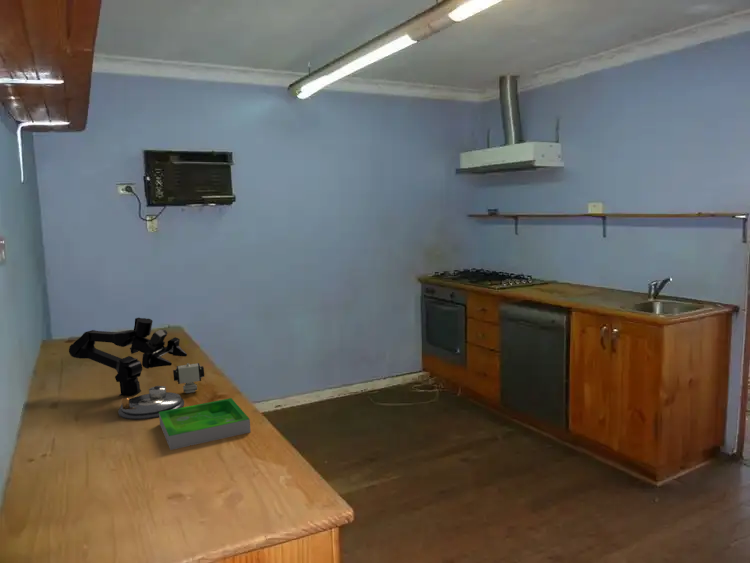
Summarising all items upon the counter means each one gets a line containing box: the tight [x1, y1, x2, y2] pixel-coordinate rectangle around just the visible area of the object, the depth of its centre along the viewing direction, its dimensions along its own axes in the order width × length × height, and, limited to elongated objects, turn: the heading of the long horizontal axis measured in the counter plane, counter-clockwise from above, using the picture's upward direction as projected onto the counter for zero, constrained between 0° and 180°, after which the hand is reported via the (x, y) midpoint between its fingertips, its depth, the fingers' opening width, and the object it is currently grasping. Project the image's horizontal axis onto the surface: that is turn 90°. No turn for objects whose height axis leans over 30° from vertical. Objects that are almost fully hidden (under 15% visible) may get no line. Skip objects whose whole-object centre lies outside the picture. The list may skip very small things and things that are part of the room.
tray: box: [158, 397, 252, 451], centre depth 191 cm, size 25×25×5 cm
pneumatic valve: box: [172, 362, 205, 394], centre depth 231 cm, size 6×12×12 cm, turn 110°
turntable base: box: [117, 397, 185, 421], centre depth 213 cm, size 23×23×1 cm
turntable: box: [120, 391, 182, 415], centre depth 213 cm, size 21×21×5 cm
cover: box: [148, 385, 167, 399], centre depth 218 cm, size 6×6×4 cm
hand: (179, 359), depth 223 cm, fingers open, 9 cm apart
